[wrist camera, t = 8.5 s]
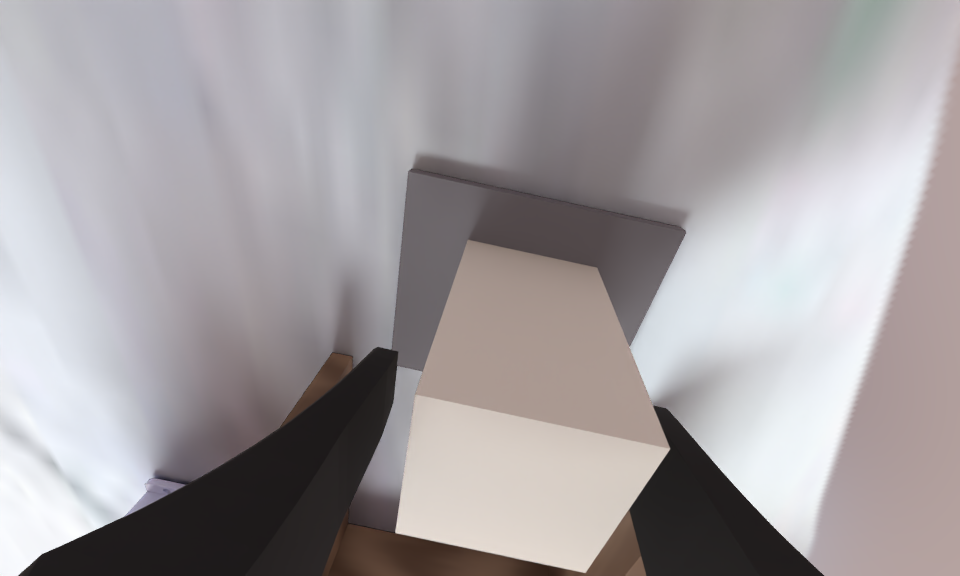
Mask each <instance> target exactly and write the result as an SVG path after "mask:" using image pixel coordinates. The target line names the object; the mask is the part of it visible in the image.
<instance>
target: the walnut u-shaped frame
mask: <svg viewBox="0 0 960 576" xmlns="http://www.w3.org/2000/svg"><path fill="white" fill-rule="evenodd" d="M352 362H353V357H352V356H347V355H342V354H338V353H333V352H332V354H331V355H330V357H329V358H328V359H327V361H326V362H325V364H324V365H323V367H322V368H321V369H320V371H319V372H318V374H317V375H316V377H315V378H314V379H313V381H312V382H311V384H310V385H309V387H308V388H307V389H306V391H305V392H304V394H303V395H302V397H301V398H300V399H299V401H298V402H297V404H296V405H295V407H294V408H293V409H292V411H291V412H290V414H289V415H288V417H287V418H286V419H285V421H284V422H283V424H282V425H281V427H282V426H283V425H285V424H286V423H287V422H289V421H290V420H292V419H293V418H294V417H295V416H297V415H298V414H299V413H301V412H302V411H303V410H305V409H306V408H307V407H309V406H310V405H311V404H312V403H314V402H315V401H316V400H318V399H319V398H320V397H321V396H323V395H324V394H325V393H326V392H327V391H328V390H330V389H331V388H332V387H333V386H334V385H336V384H337V383H338V382H339V381H340V380H341V379H343V378H344V377H345V376H346V375H347V374H348V373H349V372H350V371H351V370H352ZM348 516H349V508H348V510H347V512H346V514H345V517H344V519H343V521H342V524H341V526H340V528H339V531H338V533H337V536H336V539H335V542H334V544H333V547H332V550H331V552H330V555H329V558H328V561H327V563H326V566H325V569H324V571H323V574H322V576H646V572H645V569H644V565H643V561H642V557H641V553H640V549H639V546H638V542H637V538H636V534H635V530H634V526H633V523H632V519H631V515H630V511H629V510H628V512H627V513H626V514H625V516H624V517H623V519H622V520H621V522H620V523H619V525H618V526H617V528H616V529H615V531H614V532H613V533H612V535H611V536H610V538H609V539H608V541H607V542H606V544H605V545H604V547H603V548H602V550H601V551H600V552H599V554H598V555H597V557H596V558H595V560H594V561H593V563H592V564H591V566H590V567H589V569H588V570H587V571H586V573H583V572H578V571H573V570H569V569H564V568H559V567H554V566H550V565H548V566H547V565H542V564H538V563H533V562H528V561H523V560H519V559H514V558H509V557H504V556H500V555H495V554H490V553H485V552H481V551H476V550H471V549H467V548H462V547H457V546H452V545H448V544H443V543H438V542H433V541H429V540H424V539H419V538H414V537H410V536H405V535H400V534H396V533H391V532H386V531H381V530H377V529H372V528H367V527H362V526H358V525H353V524H348Z"/></svg>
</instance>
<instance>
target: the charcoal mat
mask: <svg viewBox="0 0 960 576" xmlns="http://www.w3.org/2000/svg"><path fill="white" fill-rule="evenodd" d="M685 234H686V231H685V230H684V229H682V228H681V227H677V226H673V225H668V224H664V223H659V222H655V221H650V220H645V219H641V218H636V217H632V216H627V215H622V214H618V213H613V212H609V211H604V210H599V209H595V208H590V207H586V206H581V205H577V204H572V203H567V202H563V201H558V200H554V199H549V198H544V197H540V196H535V195H531V194H526V193H521V192H517V191H512V190H508V189H503V188H499V187H494V186H489V185H485V184H480V183H476V182H471V181H466V180H462V179H457V178H453V177H448V176H444V175H439V174H434V173H430V172H425V171H421V170H416V169H411V170H410V171H408V180H407V191H406V202H405V213H404V223H403V234H402V245H401V256H400V267H399V277H398V288H397V299H396V310H395V321H394V331H393V342H392V350H394V351H398V361H397V366H400V367H405V368H410V369H414V370H419V371H423V370H424V367H425V364H426V361H427V358H428V355H429V352H430V349H431V346H432V343H433V340H434V337H435V335H436V332H437V329H438V326H439V323H440V320H441V317H442V314H443V311H444V308H445V305H446V302H447V299H448V297H449V294H450V291H451V288H452V285H453V282H454V279H455V276H456V273H457V270H458V267H459V264H460V261H461V259H462V256H463V253H464V250H465V247H466V244H467V241H468V240H472V241H476V242H481V243H486V244H490V245H495V246H499V247H504V248H509V249H513V250H518V251H522V252H527V253H532V254H536V255H541V256H546V257H550V258H555V259H559V260H564V261H569V262H573V263H578V264H582V265H587V266H592V267H596V268H598V271H599V273H600V276H601V278H602V281H603V283H604V286H605V288H606V291H607V293H608V296H609V298H610V301H611V303H612V306H613V308H614V311H615V313H616V316H617V318H618V320H619V323H620V325H621V328H622V330H623V333H624V335H625V338H626V340H627V343H628V345H629V347H630V345H631V343H632V341H633V339H634V337H635V335H636V333H637V331H638V329H639V327H640V325H641V323H642V321H643V319H644V317H645V315H646V313H647V311H648V309H649V307H650V305H651V303H652V301H653V299H654V297H655V294H656V292H657V290H658V288H659V286H660V284H661V282H662V280H663V278H664V276H665V274H666V272H667V270H668V268H669V266H670V264H671V262H672V260H673V258H674V256H675V254H676V252H677V250H678V248H679V246H680V244H681V242H682V240H683V238H684V236H685Z"/></svg>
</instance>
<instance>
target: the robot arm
mask: <svg viewBox="0 0 960 576" xmlns="http://www.w3.org/2000/svg"><path fill="white" fill-rule="evenodd" d="M397 361H398V351H394V350H389V349H384V348H380V347H377V348H375V349H373V350H372V351H371V352H370V353H369V354H368V355H367V356H366V357H365V358H364V359H363V360H362V361H361V362H360V363H359V364H358V365H357V366H356V367H355V368H354V369H353V370H351V371H350V372H349V373H348V374H347V375H346V376H345V377H344V378H343V379H341V380H340V381H339V382H338V383H337V384H336V385H334V386H333V387H332V388H331V389H330V390H328V391H327V392H326V393H325V394H324V395H323V396H321V397H320V398H319V399H318V400H316V401H315V402H314V403H312V404H311V405H310V406H309V407H307V408H306V409H305V410H303V411H302V412H301V413H299V414H298V415H297V416H295V417H294V418H293V419H292V420H290V421H289V422H287V423H286V424H285V425H283V426H282V427H280V428H279V429H278V430H276V431H275V432H273V433H272V434H270V435H269V436H267V437H266V438H264V439H263V440H261V441H260V442H258V443H257V444H255V445H254V446H252V447H250V448H249V449H247V450H246V451H244V452H242V453H241V454H239V455H237V456H236V457H234V458H232V459H231V460H229V461H228V462H226V463H224V464H223V465H221V466H219V467H218V468H216V469H214V470H212V471H211V472H209V473H207V474H205V475H204V476H202V477H200V478H198V479H197V480H195V481H193V482H191V483H189V484H187V485H185V484H180V483H175V482H170V481H166V480H161V479H156V478H151V479H149V480H148V481H147V483H146V484H145V487H146V490H147V492H146V493H145V495H144V496H143V497H142V498H141V499H140V500H139V501H138V502H137V503H136V504H135V505H134V507H133V508H132V509H131V510H130V511H129V512H128V513H127V514H126V515H125V516H124V517H123V518H120V519H118V520H116V521H114V522H112V523H110V524H108V525H105V526H103V527H101V528H99V529H97V530H95V531H92V532H90V533H88V534H86V535H84V536H82V537H79V538H77V539H75V540H73V541H71V542H69V543H66V544H64V545H62V546H60V547H58V548H55V549H53V550H51V551H48V552H46V553H44V554H42V555H41V556H40V557H38V558H37V559H36V560H35V561H34V562H33V563H32V564H31V565H30V566H28V567H27V568H26V569H25V570H24V571H23V572H22V573H21V574H20V575H18V576H322V574H323V571H324V569H325V566H326V563H327V561H328V558H329V555H330V552H331V550H332V547H333V544H334V542H335V539H336V536H337V533H338V531H339V528H340V526H341V524H342V521H343V519H344V517H345V514H346V512H347V510H348V508H349V506H350V503H351V501H352V499H353V497H354V495H355V493H356V491H357V488H358V486H359V484H360V482H361V480H362V478H363V476H364V473H365V471H366V469H367V467H368V465H369V463H370V460H371V458H372V456H373V454H374V452H375V450H376V447H377V445H378V443H379V441H380V439H381V437H382V434H383V431H384V428H385V425H386V422H387V419H388V416H389V413H390V410H391V407H392V404H393V399H394V390H395V380H396V371H397ZM653 407H654V410H655V412H656V415H657V417H658V420H659V422H660V425H661V427H662V430H663V432H664V435H665V437H666V439H667V442H668V444H669V447H670V450H669V452H668V453H667V455H666V456H665V457H664V459H663V460H662V462H661V463H660V465H659V466H658V468H657V469H656V471H655V472H654V474H653V475H652V476H651V478H650V479H649V481H648V482H647V484H646V485H645V487H644V488H643V490H642V491H641V493H640V494H639V495H638V497H637V498H636V500H635V501H634V503H633V504H632V506H631V507H630V509H629V511H630V515H631V519H632V523H633V526H634V530H635V534H636V538H637V542H638V546H639V549H640V553H641V557H642V561H643V565H644V569H645V572H646V576H824V575H823V574H822V573H821V572H820V571H818V570H817V569H816V568H815V567H814V566H813V565H812V564H811V563H810V562H809V561H808V560H807V559H806V558H805V557H804V556H803V555H802V554H801V553H800V552H798V551H797V550H796V549H795V548H794V547H793V546H792V545H791V544H790V543H789V542H788V541H787V540H786V539H785V538H784V537H783V536H782V535H781V534H780V533H779V532H778V531H777V530H776V529H775V528H774V527H773V526H772V525H771V524H770V523H769V522H768V521H767V520H766V519H765V518H764V517H763V516H762V515H761V514H760V513H759V511H758V510H757V509H756V508H755V507H754V506H753V505H752V504H751V503H750V502H749V501H748V500H747V499H746V498H745V497H744V496H743V495H742V493H741V492H740V491H739V490H738V489H737V488H736V487H735V486H734V485H733V484H732V482H731V481H730V480H729V479H728V478H727V477H726V476H725V475H724V473H723V472H722V471H721V470H720V469H719V468H718V467H717V466H716V464H715V463H714V462H713V461H712V460H711V459H710V457H709V456H708V455H707V454H706V453H705V452H704V451H703V449H702V448H701V447H700V446H699V445H698V444H697V442H696V441H695V440H694V439H693V438H692V437H691V435H690V434H689V433H688V432H687V431H686V430H685V428H684V427H683V426H682V425H681V424H680V423H679V422H678V420H677V419H676V418H675V417H674V416H673V415H672V414H671V413H670V412H669V411H668V410H667V409H666V408H661V407H657V406H653Z"/></svg>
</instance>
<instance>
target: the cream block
mask: <svg viewBox="0 0 960 576" xmlns="http://www.w3.org/2000/svg"><path fill="white" fill-rule="evenodd" d="M669 450H670V447H669V444H668V442H667V439H666V437H665V435H664V432H663V430H662V427H661V425H660V422H659V420H658V417H657V415H656V412H655V410H654V407H653V405H652V402H651V400H650V397H649V395H648V392H647V390H646V387H645V385H644V382H643V380H642V377H641V375H640V373H639V370H638V368H637V365H636V363H635V360H634V358H633V355H632V353H631V350H630V348H629V345H628V343H627V340H626V338H625V335H624V333H623V330H622V328H621V325H620V323H619V320H618V318H617V316H616V313H615V311H614V308H613V306H612V303H611V301H610V298H609V296H608V293H607V291H606V288H605V286H604V283H603V281H602V278H601V276H600V273H599V271H598V268H596V267H592V266H587V265H582V264H578V263H573V262H569V261H564V260H559V259H555V258H550V257H546V256H541V255H536V254H532V253H527V252H522V251H518V250H513V249H509V248H504V247H499V246H495V245H490V244H486V243H481V242H476V241H472V240H468V241H467V244H466V247H465V250H464V253H463V256H462V259H461V261H460V264H459V267H458V270H457V273H456V276H455V279H454V282H453V285H452V288H451V291H450V294H449V297H448V299H447V302H446V305H445V308H444V311H443V314H442V317H441V320H440V323H439V326H438V329H437V332H436V335H435V337H434V340H433V343H432V346H431V349H430V352H429V355H428V358H427V361H426V364H425V367H424V370H423V373H422V375H421V378H420V381H419V384H418V387H417V390H416V393H415V398H414V405H413V412H412V419H411V426H410V433H409V440H408V447H407V454H406V461H405V468H404V475H403V482H402V489H401V496H400V503H399V510H398V517H397V524H396V531H395V533H398V534H403V535H408V536H412V537H417V538H422V539H426V540H431V541H436V542H441V543H445V544H450V545H455V546H460V547H464V548H469V549H474V550H479V551H483V552H488V553H493V554H498V555H502V556H507V557H512V558H516V559H521V560H526V561H531V562H535V563H540V564H545V565H550V566H554V567H559V568H564V569H569V570H573V571H578V572H583V573H586V571H587V570H588V569H589V567H590V566H591V564H592V563H593V561H594V560H595V558H596V557H597V555H598V554H599V552H600V551H601V550H602V548H603V547H604V545H605V544H606V542H607V541H608V539H609V538H610V536H611V535H612V533H613V532H614V531H615V529H616V528H617V526H618V525H619V523H620V522H621V520H622V519H623V517H624V516H625V514H626V513H627V512H628V510H629V509H630V507H631V506H632V504H633V503H634V501H635V500H636V498H637V497H638V495H639V494H640V493H641V491H642V490H643V488H644V487H645V485H646V484H647V482H648V481H649V479H650V478H651V476H652V475H653V474H654V472H655V471H656V469H657V468H658V466H659V465H660V463H661V462H662V460H663V459H664V457H665V456H666V455H667V453H668V452H669Z"/></svg>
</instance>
